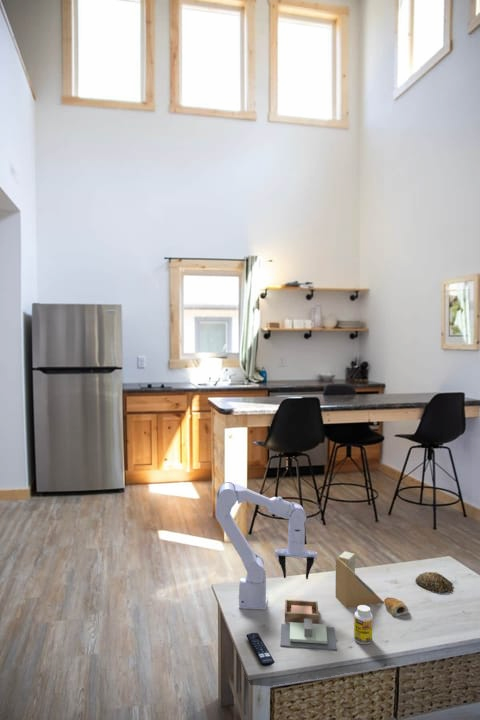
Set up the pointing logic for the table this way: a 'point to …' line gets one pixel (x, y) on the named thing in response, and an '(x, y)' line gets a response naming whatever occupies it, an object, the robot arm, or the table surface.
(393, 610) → the pastry
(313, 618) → the walnut box
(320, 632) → the lid
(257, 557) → the robot arm
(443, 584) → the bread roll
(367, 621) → the supplement bottle
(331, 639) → the slate mat
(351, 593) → the sandwich container
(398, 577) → the table surface
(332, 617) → the table surface
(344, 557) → the skincare box
